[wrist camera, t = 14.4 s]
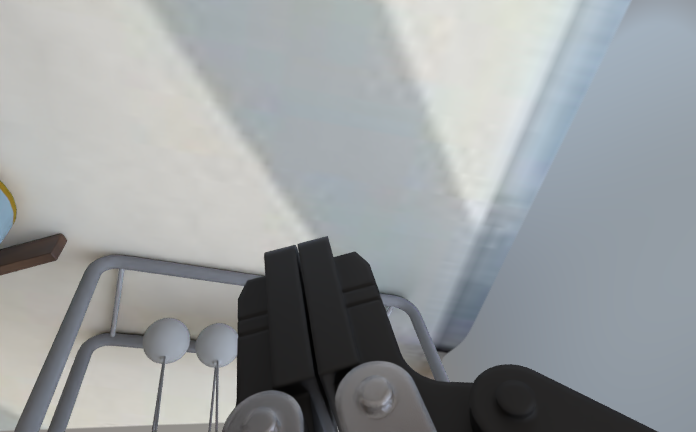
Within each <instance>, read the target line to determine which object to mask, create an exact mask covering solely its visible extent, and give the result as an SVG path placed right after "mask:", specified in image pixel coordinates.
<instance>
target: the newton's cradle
mask: <svg viewBox="0 0 696 432" xmlns="http://www.w3.org/2000/svg"><path fill="white" fill-rule="evenodd" d="M109 269H119V274H118V281H117V289H116V296H115V303H114V311H113V318H112V325H111V332H110V333H103V334H99V335H96V336H94V337H92V338H89V339H88V340H87V341H86V342H84V343H83V344H82V345H81V347H80V349H79V350H78V352H77V355H76V358H75V360H74V363H73V365H72V368H71V371H70V373H69V376H68V379H67V381H66V384H65V387H64V389H63V392H62V395H61V397H60V400H59V403H58V405H57V408H56V410H55V413H54V416H53V418H52V421H51V424H50V426H49V429H48V432H65V430H66V427H67V424H68V421H69V419H70V416H71V413H72V410H73V407H74V404H75V401H76V398H77V395H78V392H79V390H80V387H81V384H82V381H83V378H84V375H85V372H86V369H87V366H88V363H89V360H90V358H91V355H92V353H93V351H94V350H96V349H97V348H99V347H102V346H122V347H133V348H143V349H144V352H145V354H146V355H147V357H148V358H149V359H151V360H152V361H154V362H156V363H161V364H162V369H161V375H160V382H159V388H158V395H157V401H156V408H155V414H154V421H153V427H152V432H157V426H158V418H159V410H160V401H161V393H162V385H163V376H164V368H165V364H167V363H172V362H175V361H177V360H178V359H180V358H181V357H182V356H183V355H184V354H185V353H186V352H191V353H196V354H197V356H198V358H199V360H200V361H201V362H202V363H203V364H205V365H206V366H209V367H214V368H215V371H214V381H213V391H212V401H211V411H210V421H209V432H211V422H212V412H213V401H214V391H215V381H216V427H215V432H218V371H219V367H223V366H226V365H228V364H229V363H230V362H232V361H233V360H234V359H235V357H236V356H237V339H238V334H237V332H236V331H235V330H234V329H233V328H232V327H230V326H229V325H226V324H222V323H216V324H212V325H210V326H208V327H206V328H205V329H204V330H203V331H202V332H201V333H200V334H199V336H198V338H197V340H196V341H192V340H190V333H189V330H188V328H187V327H186V325H185V324H184V323H183V322H181V321H180V320H177V319H175V318H163V319H160V320H157V321H156V322H154V323H153V324H151V325H150V326H149V327H148V329H147V330H146V332H145V334H144V336H140V335H129V334H118V333H115V331H116V324H117V317H118V310H119V303H120V296H121V290H122V283H123V276H124V269H127V270H134V271H141V272H148V273H155V274H162V275H170V276H177V277H184V278H191V279H198V280H205V281H213V282H220V283H227V284H234V285H241V286H245V284H246V282H247V280H250V279H254V278H258V277H262V276H260V275H253V274H246V273H240V272H233V271H226V270H220V269H213V268H206V267H200V266H193V265H186V264H179V263H173V262H166V261H159V260H153V259H146V258H139V257H132V256H126V255H110V256H104V257H102V258H99V259H97V260H95V261H94V262H92V263H91V264H90V265H89V266H88V267H87V269H86V270H85V272H84V274H83V277H82V279H81V281H80V283H79V286H78V288H77V290H76V292H75V295H74V297H73V299H72V301H71V304H70V306H69V308H68V310H67V313H66V315H65V317H64V320H63V322H62V324H61V326H60V329H59V331H58V333H57V335H56V338H55V340H54V342H53V344H52V347H51V349H50V351H49V353H48V356H47V358H46V360H45V363H44V365H43V367H42V369H41V372H40V374H39V376H38V378H37V381H36V383H35V385H34V387H33V390H32V392H31V394H30V396H29V399H28V401H27V403H26V406H25V408H24V410H23V412H22V415H21V417H20V419H19V421H18V424H17V426H16V428H15V432H39V430H40V427H41V425H42V422H43V420H44V417H45V414H46V412H47V409H48V407H49V404H50V402H51V399H52V397H53V394H54V392H55V389H56V387H57V384H58V382H59V379H60V376H61V374H62V371H63V369H64V366H65V364H66V361H67V359H68V356H69V354H70V351H71V349H72V346H73V344H74V341H75V338H76V336H77V333H78V331H79V328H80V326H81V323H82V321H83V318H84V316H85V313H86V311H87V308H88V305H89V303H90V300H91V298H92V295H93V293H94V290H95V288H96V285H97V283H98V280H99V278H100V275H101V274H102V273H103V272H104V271H106V270H109ZM380 296H381V299H382V301H383V304H384V305H385V306H390V307H389V309H388V311H387V312H386V313H387V316H388V317H389V315H390V313H391V311H392V310H393V308H394V307H397V308H399V309H402V310H403V311H405V312H406V313H407V314H408V315H409V317H410V319H411V321H412V324H413V326H414V329H415V331H416V334H417V336H418V339H419V341H420V344H421V346H422V349H423V351H424V354H425V356H426V359H427V361H428V364H429V366H430V369H431V371H432V374H433V376H434V379H435V380H436V381H443V382H450V381H449V378H448V376H447V374H446V371H445V369H444V367H443V365H442V362H441V360H440V358H439V355H438V353H437V351H436V348H435V346H434V344H433V341H432V339H431V337H430V334H429V332H428V330H427V327H426V325H425V323H424V320H423V318H422V316H421V314H420V312H419V310H418V309H417V308H416V307H415V306H414V305H413V304H412V303H411V302H410V301H408V300H406V299H404V298H402V297H399V296H394V295H387V294H381V293H380ZM216 370H217V371H216ZM154 429H155V430H154Z"/></svg>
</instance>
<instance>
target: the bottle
mask: <svg viewBox="0 0 696 432" xmlns="http://www.w3.org/2000/svg"><path fill="white" fill-rule="evenodd" d="M16 210H17V209H16V205H15V202H14V199H13V196H12V195H11V193H10V192H9V190H8V189H7V188H6V187H5V185H4V184H3V183H2V182H1V181H0V243H1V242H2V240H3V239H4V238H5V236H6V235H7V233H8V232H9V230H10V229H11V227H12V225H13V224H14V222H15V219H16Z"/></svg>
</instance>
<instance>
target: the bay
mask: <svg viewBox="0 0 696 432" xmlns="http://www.w3.org/2000/svg"><path fill="white" fill-rule="evenodd" d="M66 242H67V240H66V238H65V237H64V235H63V234H58V235H54V236H50V237H47V238H43V239H39V240H35V241H32V242H28V243H24V244H20V245H16V246H13V247H9V248H5V249H1V250H0V275H3V274H7V273H11V272H15V271H18V270H22V269H26V268H30V267H33V266H37V265H41V264H45V263H48V262H52V261H56V260H57V259H58V257H59V255H60V253H61V252H62V250H63V248H64V246H65V244H66Z"/></svg>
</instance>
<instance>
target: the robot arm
mask: <svg viewBox="0 0 696 432" xmlns="http://www.w3.org/2000/svg"><path fill="white" fill-rule="evenodd" d="M298 251H299V252H298ZM264 260H265V276H262V277H258V278H254V279H250V280H247V282H246V284H245V286H244V288H243V290H242V292H241V294H240V296H239V298H238V321H239V322H238V339H237V401H236V407H235V409H234V410H233V411H232V412H231V414H230V415H229V416H228V418H227V420H226V422H225V424H224V427H223V430H222V432H338V430H339V432H657V431H655V430H653V429H651V428H649V427H647V426H645V425H643V424H641V423H639V422H637V421H635V420H633V419H631V418H629V417H627V416H625V415H623V414H621V413H619V412H617V411H615V410H613V409H611V408H609V407H607V406H605V405H603V404H601V403H599V402H597V401H595V400H593V399H591V398H589V397H587V396H585V395H583V394H581V393H578V392H576V391H574V390H572V389H570V388H568V387H566V386H564V385H562V384H560V383H558V382H556V381H554V380H552V379H550V378H548V377H546V376H544V375H542V374H540V373H538V372H536V371H534V370H532V369H529V368H527V367H523V366H519V365H512V364H510V365H499V366H495V367H492V368H489V369H487V370H485V371H484V372H483V373H481V374H480V375H479V376H478V377H477V378H476V380H475V381H474V383H464V382H462V383H461V382H443V381H436V380H432V379H429V378H426V377H424V376H422V375H420V374H418V373H417V372H415V371H414V370H413V369H412V368H411V367H410V366H409V365H408V364H407V363H406V362H405V360H404V359H403V357H402V355H401V353H400V350H399V347H398V344H397V341H396V338H395V336H394V333H393V330H392V327H391V324H390V321H389V318H388V316H387V313H386V310H385V307H384V304H383V301H382V299H381V296H380V293H379V290H378V287H377V284H376V282H375V279H374V276H373V273H372V270H371V267H370V264H369V263H368V262H367V261H365V260H364V259H363V258H362V257H361V256H360V255H359V254H358V253H356V252H352V253H348V254H344V255H341V256H337V257H333V254H332V250H331V247H330V243H329V239H328V236H326V237H322V238H319V239H315V240H311V241H307V242H303V243H299V244H298V249H297V247H296V245H292V246H289V247H285V248H281V249H277V250H273V251H269V252H266V253H265V254H264ZM337 427H338V429H337Z"/></svg>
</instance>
